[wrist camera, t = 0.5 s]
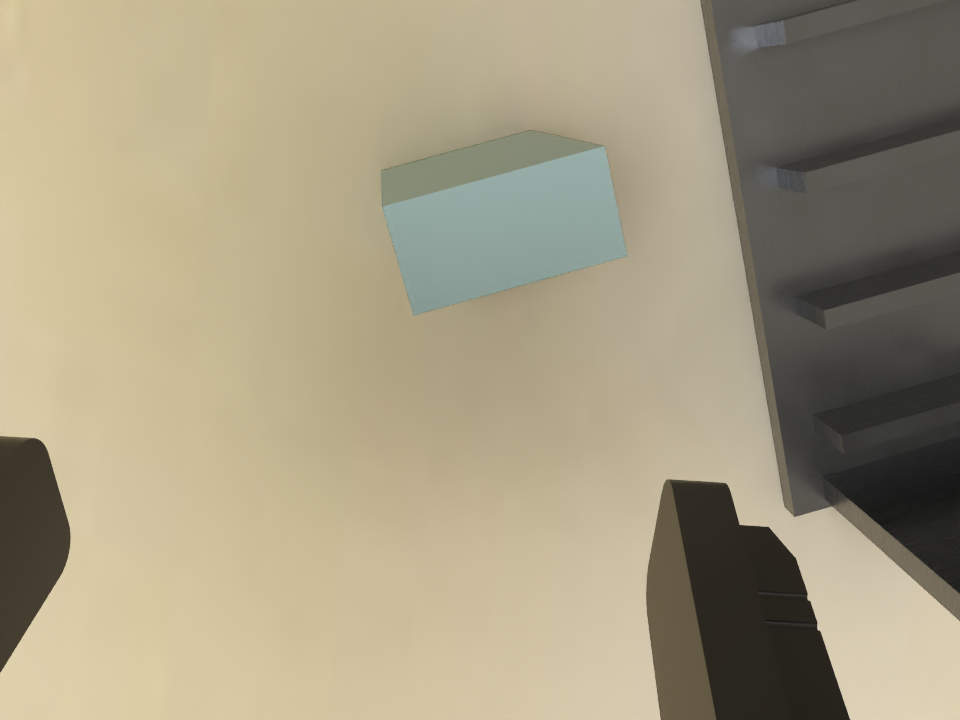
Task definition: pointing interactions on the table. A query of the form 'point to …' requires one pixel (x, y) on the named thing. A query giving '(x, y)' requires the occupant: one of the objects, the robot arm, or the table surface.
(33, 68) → the table surface
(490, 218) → the tall pale blue pillar
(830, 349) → the rack
